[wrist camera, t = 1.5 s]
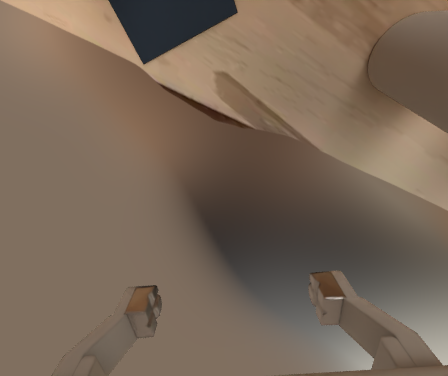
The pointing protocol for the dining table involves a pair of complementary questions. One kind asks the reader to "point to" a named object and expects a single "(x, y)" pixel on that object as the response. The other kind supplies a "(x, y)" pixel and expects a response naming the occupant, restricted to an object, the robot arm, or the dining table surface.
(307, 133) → the dining table surface
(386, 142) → the dining table surface
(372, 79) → the cylinder vase
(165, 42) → the placemat
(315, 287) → the robot arm
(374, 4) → the dining table surface
